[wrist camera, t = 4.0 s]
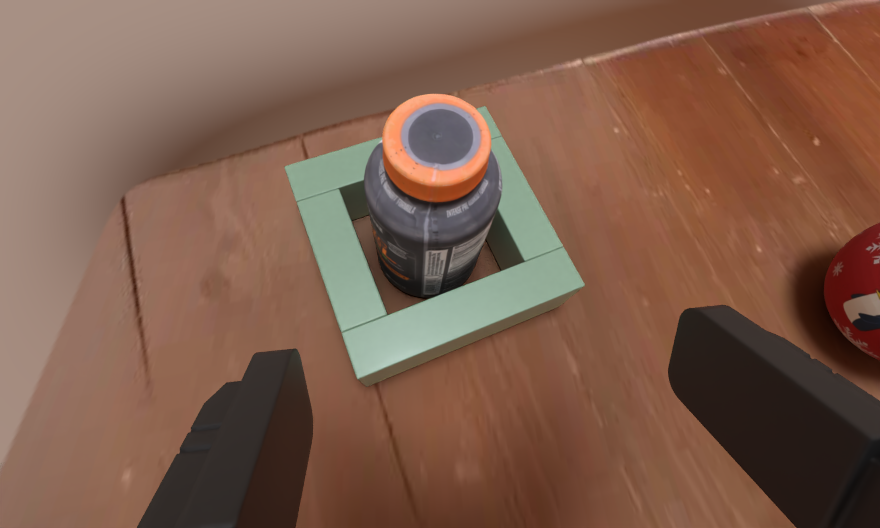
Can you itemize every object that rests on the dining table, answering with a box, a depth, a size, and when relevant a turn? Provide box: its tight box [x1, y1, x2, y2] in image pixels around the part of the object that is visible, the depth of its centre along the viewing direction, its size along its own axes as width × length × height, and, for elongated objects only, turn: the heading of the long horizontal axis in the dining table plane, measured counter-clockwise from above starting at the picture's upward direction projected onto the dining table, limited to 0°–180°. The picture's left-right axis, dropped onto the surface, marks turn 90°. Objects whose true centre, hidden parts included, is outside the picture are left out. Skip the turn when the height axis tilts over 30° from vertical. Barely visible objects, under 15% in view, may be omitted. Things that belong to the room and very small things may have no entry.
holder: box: [285, 106, 585, 387], centre depth 24 cm, size 12×12×4 cm
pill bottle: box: [364, 94, 502, 298], centre depth 20 cm, size 6×6×11 cm
